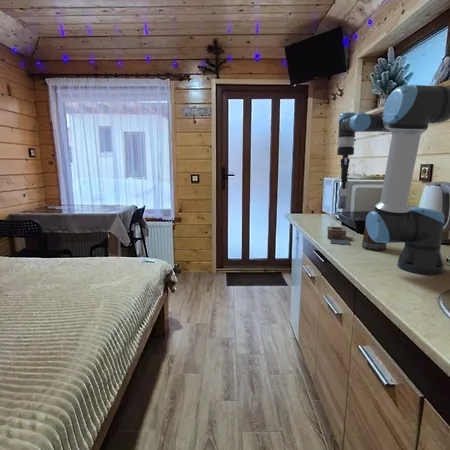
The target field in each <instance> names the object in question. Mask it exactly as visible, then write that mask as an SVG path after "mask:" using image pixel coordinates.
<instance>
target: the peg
mask: <svg viewBox="0 0 450 450" xmlns="http://www.w3.org/2000/svg"><path fill="white" fill-rule="evenodd" d="M348 180H349V179H348ZM348 180H347V186H348V182H349V181H348ZM340 181H341V179H339V191H338V192H339V194H338V209H340V210H341V209H342V210H346V208H347V199H348V197H347V196H348V190H347V191H346V196H340V191H341V182H340Z"/></svg>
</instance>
